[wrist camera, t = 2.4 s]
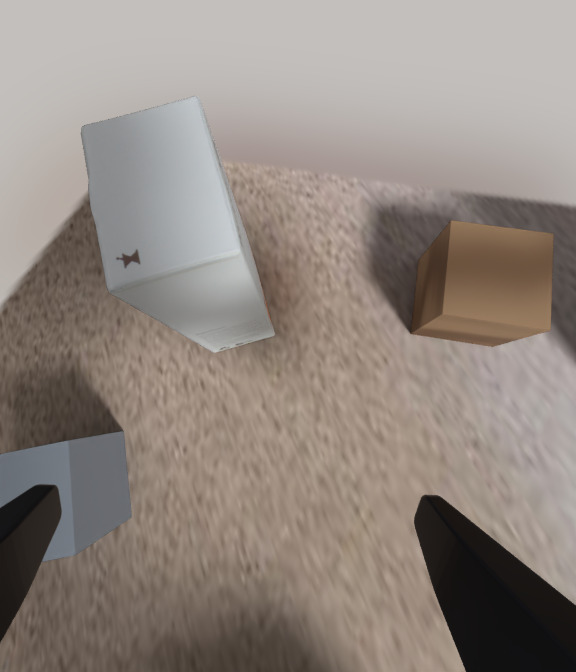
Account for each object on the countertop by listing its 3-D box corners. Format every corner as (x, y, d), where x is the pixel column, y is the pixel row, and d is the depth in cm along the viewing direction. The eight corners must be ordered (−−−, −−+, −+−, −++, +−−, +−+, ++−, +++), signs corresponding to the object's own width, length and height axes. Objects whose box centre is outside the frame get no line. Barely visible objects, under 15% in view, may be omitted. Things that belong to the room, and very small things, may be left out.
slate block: (132, 516, 20) (75, 555, 15) (50, 532, 20) (-34, 576, 15) (124, 430, 21) (68, 440, 16) (46, 446, 21) (-34, 460, 16)
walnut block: (491, 346, 21) (550, 330, 16) (410, 334, 21) (442, 314, 16) (496, 271, 21) (553, 233, 17) (418, 260, 22) (451, 220, 17)
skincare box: (277, 336, 21) (245, 257, 9) (213, 354, 21) (101, 298, 9) (254, 251, 22) (199, 87, 11) (193, 268, 22) (71, 123, 11)
